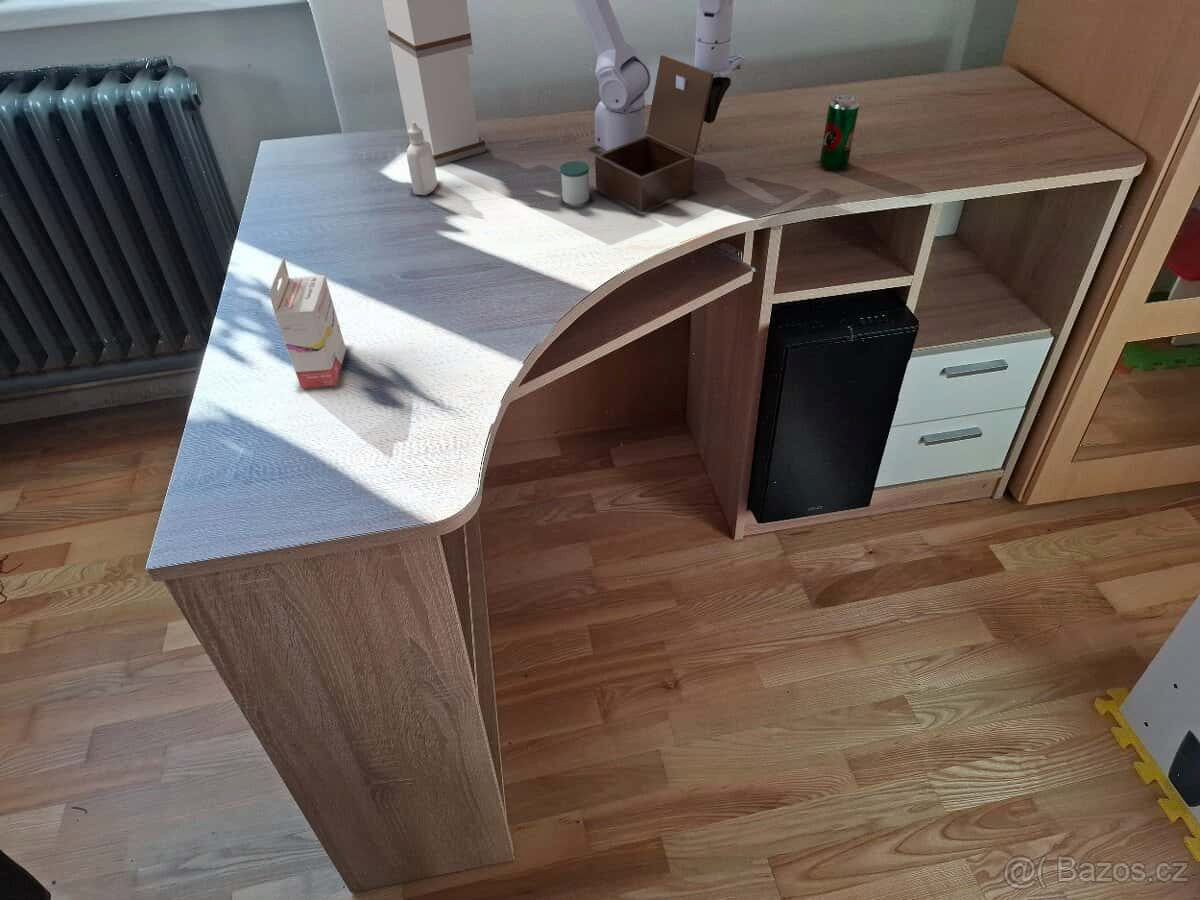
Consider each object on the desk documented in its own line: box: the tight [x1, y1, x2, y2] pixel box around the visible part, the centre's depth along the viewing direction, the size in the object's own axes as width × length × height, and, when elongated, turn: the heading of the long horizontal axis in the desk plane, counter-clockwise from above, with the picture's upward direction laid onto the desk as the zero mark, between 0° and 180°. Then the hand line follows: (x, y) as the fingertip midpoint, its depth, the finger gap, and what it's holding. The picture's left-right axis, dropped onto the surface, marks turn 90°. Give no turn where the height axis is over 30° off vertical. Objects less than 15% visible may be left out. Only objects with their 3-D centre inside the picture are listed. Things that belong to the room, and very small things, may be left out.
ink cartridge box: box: [269, 258, 347, 389], centre depth 104 cm, size 9×5×15 cm, turn 5°
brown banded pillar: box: [381, 0, 487, 167], centre depth 146 cm, size 11×11×35 cm
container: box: [559, 160, 590, 205], centre depth 139 cm, size 5×5×6 cm
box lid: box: [645, 54, 714, 156], centre depth 137 cm, size 13×12×1 cm
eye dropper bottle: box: [406, 121, 438, 196], centre depth 141 cm, size 4×6×12 cm
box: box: [594, 135, 695, 213], centre depth 140 cm, size 12×12×6 cm
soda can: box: [819, 93, 860, 171], centre depth 144 cm, size 5×5×12 cm
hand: (707, 120), depth 143 cm, fingers closed
